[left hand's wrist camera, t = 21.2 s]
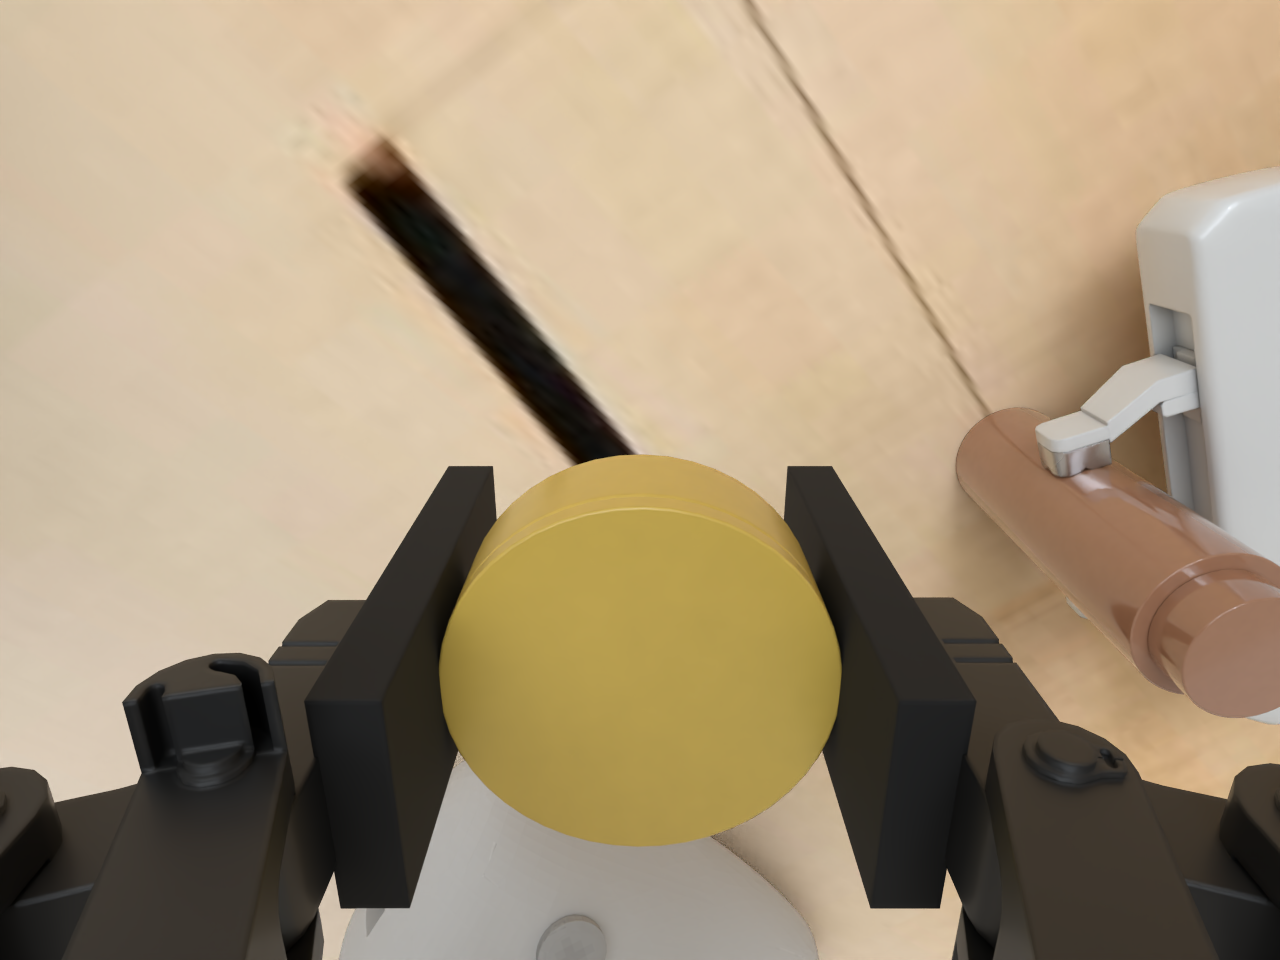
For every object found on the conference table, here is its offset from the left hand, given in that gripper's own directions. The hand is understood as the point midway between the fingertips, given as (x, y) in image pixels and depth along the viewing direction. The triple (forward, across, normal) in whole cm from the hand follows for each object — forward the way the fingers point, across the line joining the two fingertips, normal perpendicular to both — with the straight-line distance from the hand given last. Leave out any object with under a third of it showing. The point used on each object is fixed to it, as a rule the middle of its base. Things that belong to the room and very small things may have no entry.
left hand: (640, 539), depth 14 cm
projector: (+20, -2, -30) cm, 36 cm away
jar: (+21, +16, -6) cm, 27 cm away
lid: (-4, 0, 0) cm, 4 cm away
